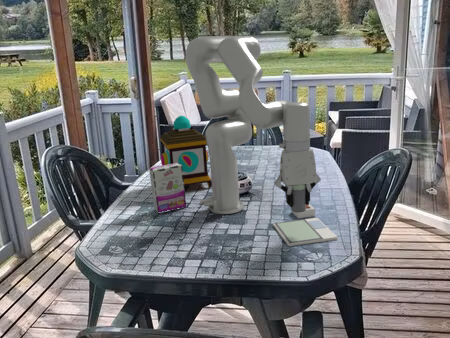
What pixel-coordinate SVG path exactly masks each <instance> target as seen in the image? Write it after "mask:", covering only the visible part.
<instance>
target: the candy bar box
mask: <svg viewBox="0 0 450 338" xmlns="http://www.w3.org/2000/svg"><path fill="white" fill-rule="evenodd" d="M148 169H149V178H150V185H151V186H150V187H151V193H152V202H153V209H154V208H155V210H156V211H157V212H162V211H167V210H172V209H177V208H182V207H186V208H187V200H186V192H185V186H184V179H183V169H182V165H181V164H179V163H174V164H168V165H163V166H162V165H158V166H155V167H154V166H153V167H149V168H148ZM182 209H183V208H182ZM155 210H154V211H155ZM156 211H155V212H156ZM157 212H156V213H157Z"/></svg>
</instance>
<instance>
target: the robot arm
mask: <svg viewBox="0 0 450 338" xmlns="http://www.w3.org/2000/svg"><path fill="white" fill-rule="evenodd" d="M261 51H262V50H261V45H260V43H259V41H258V40H257V39H256V38H254V37H253V36H251V35H216V36H212V35H210V36H208V35H207V36H199V37H196V38H193V39H192V40H190V42H188V43H187V46H186V49H185V62H186V67H187V69H188V71H189V73H190V75H191V77H192V80H193V82H194V86H195V89H196V93H197V97H198V100H199V104H200V108H201V110H202V113H203V116H205V117H206V118H207V119H211V120H212V119H220V118H224V117H225V118H226V117H227V119H225V120H219V121H216V122H213V123H212V124H210V125H208V127H207V128H206V130H205V135H204V136H205V138H206V142H207V144H206V147H207V149H208V150H207V151H208V157H209V165H210V167H209V168H210V179H211V182H212V186H211V191H212V194H211V195H210V197H209V198H207V199H206V198H205V199H204V198H203V199H199V205H200V206H203V205H204V207H208V210H209V211H210V212H211V213H213V214H217V215H230V214H231V215H232V214H235V213H239V212H240V211H242V210H243V209H244V208H245V204H244V203H243V201H241V200H240V190H239V189H240V188H239V187H240V186H239V185H240V184H239V170H238V167H239V166H238V159H237V156H236V155H235V153H234V151H233V150H232V148H233V147H236V146H240V145H243V144H247V143H248V142H249V141H250V140H251V139H252V136H253V128H252V126H254V127H255V128H257V129H259V130H268V129H272V128H276V127H281V126H282V128H283V132H282V133H283V135H282V136H283V140H282V142H281V143H279V144H278V147H279V149H282V150H281V155H280V161H279V174H278V176H277V178H276V180H275V181H274V184H273V185H274V186H275V187H276V188H278V189H281V190H282V191H283V192H284V193H285V203H286V204H287V205H288V206H289V207H290V208H291V207H293V195H292V194H291V190H292V186H294V185H302V184H305V194H306V205H309V204H310V202H311V192H312V191H313V190H312V189H314V187H315V186H316V185H318V183H320V182H321V181H322V179H321V177H320V175H318V173H317V165H316V157H315V152H314V149H313V148H311V131H310V130H311V129H310V128H311V127H310V126H311V124H310V119H311V117H310V106H309V104H308V103H307V102H303V101H302V102H301V101H299V102H298V101H297V102H294V101H290V100H286V99H278V100H274V101H268V102H262V101H261V99H260V98H259V97H258V95H257V94H256V91H255V89H254V87H255V86H256V85H257V84H258V83H259V82H260V81H261V79H262V77H263V73H264V72H263V71H264V70H263V68H262V67H261V66H260V64H259V63H258V62H257V60H258V59H259V58H260V56H261ZM220 62H223V64H224V65H225V67H226V69H228V71H229V72H230V74H231V75H232V77H233V78H234V80H235V81H236V83H237V84H238V86H239V89H238V90H237V89H235V88H232V87H230V88H229V87H228V88H223V87H222V85H221V81H220V78H219V76H218V73H217V72H216V71H215V70H214V68H212V66H211V65H210V63H220Z"/></svg>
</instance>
